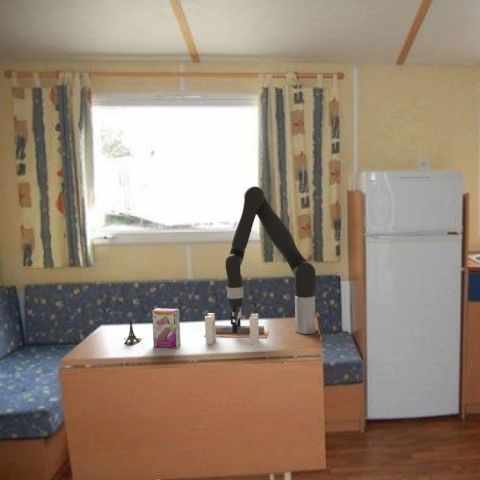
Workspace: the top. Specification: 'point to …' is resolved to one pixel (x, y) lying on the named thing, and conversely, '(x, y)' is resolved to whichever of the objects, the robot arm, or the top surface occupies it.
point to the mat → (241, 335)
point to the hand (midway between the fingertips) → (236, 329)
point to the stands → (211, 331)
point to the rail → (239, 330)
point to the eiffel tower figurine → (132, 336)
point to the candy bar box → (166, 328)
